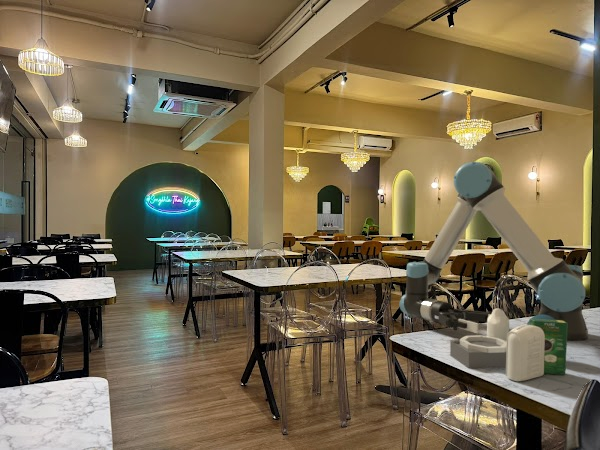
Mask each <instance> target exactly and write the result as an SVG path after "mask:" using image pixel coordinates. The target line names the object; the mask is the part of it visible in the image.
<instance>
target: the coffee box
mask: <svg viewBox="0 0 600 450" xmlns="http://www.w3.org/2000/svg"><path fill="white" fill-rule="evenodd" d="M529 320H530V325H533V326H537V327H540V328H541V329H542V330H543V332H544V334H545V348H544V374H546V375H558V376H559V375H561V376H562V375H563V376H564V375H566V372H567V371H566V370H567V368H566V367H567V366H566V365H567V363H566V362H567V347H568V346H567V344H568V343H567V342H568V340H567V328H568V323H567V322H565V321H563V320H547V319H532V317H530V318H529Z"/></svg>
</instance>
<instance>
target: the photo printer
mask: <svg viewBox="0 0 600 450" xmlns="http://www.w3.org/2000/svg"><path fill="white" fill-rule="evenodd" d="M544 348H545V334H544V332H543V330H542V329H541V328H540V327H537V326H533V325H527V324H522V325H519V326H516V327H514V328H513V329H511V330H509V333H508V335H507V348H506V367H505V376H506V377H507V379H508V380H511V381H514V382H523V381H527V380H532V379H534V378H539V377H542V376H543V375H544V374H545V373H544Z"/></svg>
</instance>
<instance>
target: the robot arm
mask: <svg viewBox="0 0 600 450" xmlns="http://www.w3.org/2000/svg"><path fill="white" fill-rule="evenodd" d="M453 185H454V188H455V191H456V192H457V193H458V195H457V196H456V198H457V202H456V204H455V205H454V207H453V209H452V211H451V213H449V215H448V217H447V220H446V221H445V223H444V224H443V226H442V228H441V229H440V231H439V233H438V235H437V236H436V238H435V240H434V242H433V243H432V245H431V247H430V248H429V250H428V251H427V253H426V255H425V257H424V259H423V261H421V262H420V261H418V262H417V261H412V262H411V261H410V262H408V263H407V264H406V271H405V274H406V281H405V282H406V283H405V284H406V288H405V289H406V293H405V294H403V295H401V298H400V301H399V309H400V311H401V312H402V313H404V314H406V315H408V316H410V317H412V318H414V317H415V318H418V319H421V320H425V321H429V323H431V324H432V323H436V324H438V325H439V324H440V325H442V326H444V327H446V328H448V329H452V330H453V331H457V330H458V329H461V330H463V331H464V330H465V331H468V332H471V333H475V334H478V333H479V323H478V322H484V323H485V322H486V323H487V319H488V317H489V316H490V315H491V314H492V311H490V310H489V311H488V312H487V311H479V310H471V309H465V308H462V309H459V308H454V307H453V305H452V304H451V303H450V302H447V301H442V300H439V299H435V298H430V297H429V286H430V285H433V284H435V283H436V282H437V281H438V280H439V278H440V273H442V270H443V269H444V267H445V264H446V263H447V262H448V260H449V258H450V257H451V256H452V254H453V252H454V250H455V248H456V247H457V245H458V244H459V242H460V240H461V238H462V237H463V235H464V234H465V232H466V230H467V229H468V227H469V226H470V224H471V222H472V221H473V219H474V217H475V215H476V214H477V212H478V211H480V212H481V214H482V215H483V216H484V217H485V218H486V220H487V221H488V222H489V223H490V225H491V226H492V228H493V229H494V230H495V232H496V233H497V234H498V235H499V236H500V238H502V240H503V241H504V243H505V244H506V246H508V248H509V250H511V253H513V255H514V256H515V257H516V259H517V260H518V261H519V262H520V264H521V265H522V267H524V269H525V270H526V271H527V273H528V274H527V278H526V279H527V281H528V282H529V283H530V285H531V286H532V288H533V289H534V290H535V291H536V292H537V295H538V298H539V300H540V310H539V312H538V315H548V316H551V317H552V318H554V319H555V320H563V321H565V322H567V323H568V328H567V341H583V340H587V339H588V338H589V330H588V328H587V324H586V321H585V318H584V314H583V302H584V300H585V298H586V288H585V285H584V284H583V276H584V273H583V272H584V271H583V268H582V267H581V266H580V265H573V264H567V263H566V261H565V260H564V259H563V258H561V257H560V258H559V257H555V256H554V255H553V254H552V253H551V251H550V250H549V249H548V247H546V245H545V244H544V243H543V242H542V240H541V239H540V238H539V236H538V235H537V234H536V233H535V232H534V231H533V229H532V227H530V225H529V224H528V223H527V222H526V221H525V219H524V218H523V216H521V214H520V213H519V211H517V209H516V208H515V206H514V205H513V204H512V202H510V201H509V199H508V198H507V197H506V195H505V190H506V188H505V187H504V185H503V184H502V183H501V182H500V180H499V179H498V178H497V176H496V173H495V172H494V171H493V170H492V169H491V168H490V167H489V166H488V165H486V164H485V163H483V162H479V161H471V162H470V161H469V162H466V163H464V164H462V165H461V166H460V167H459V168H458V169H457V170H456V172H455V173H454V176H453ZM428 297H429V298H428ZM507 318H508V319H509V317H507ZM509 320H510V319H509Z"/></svg>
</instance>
